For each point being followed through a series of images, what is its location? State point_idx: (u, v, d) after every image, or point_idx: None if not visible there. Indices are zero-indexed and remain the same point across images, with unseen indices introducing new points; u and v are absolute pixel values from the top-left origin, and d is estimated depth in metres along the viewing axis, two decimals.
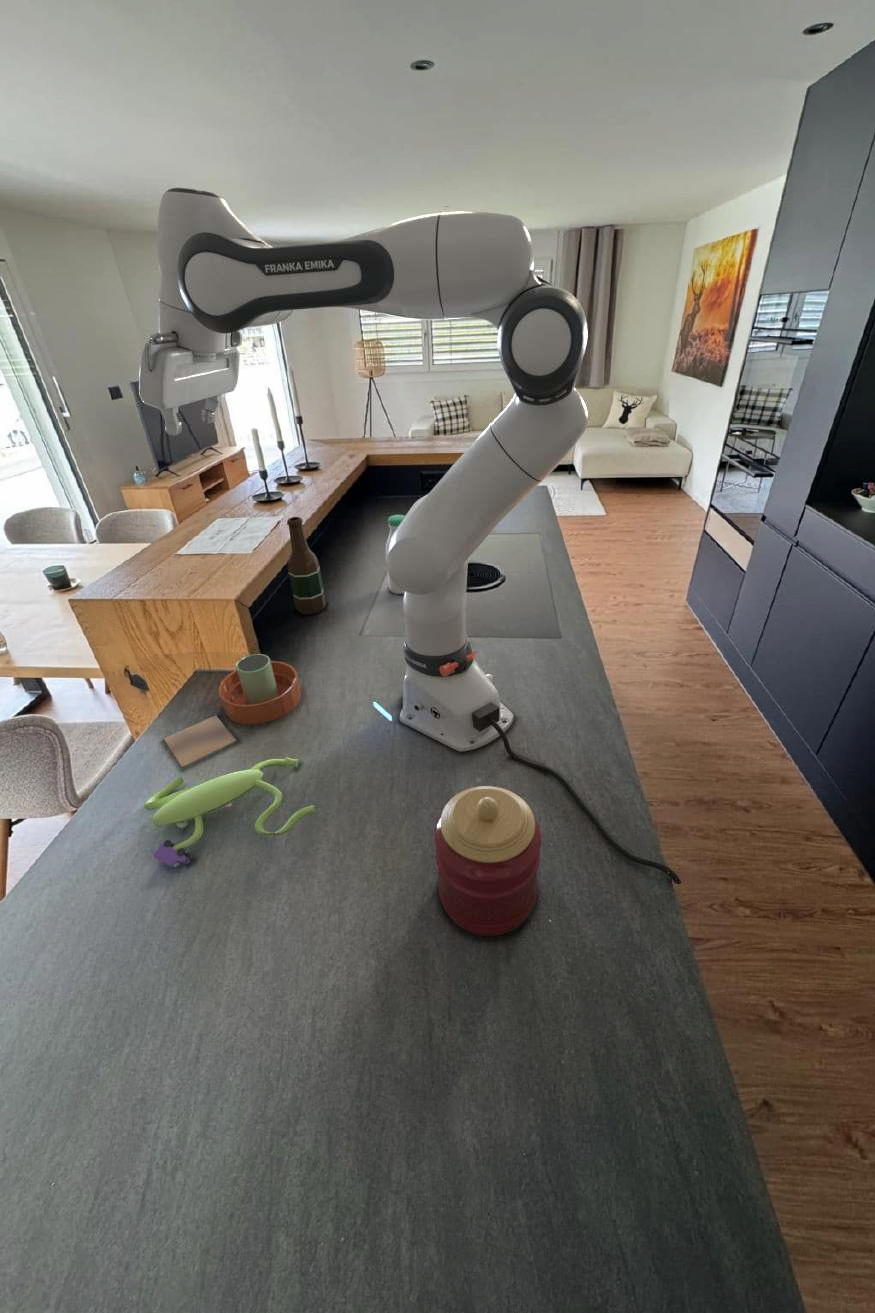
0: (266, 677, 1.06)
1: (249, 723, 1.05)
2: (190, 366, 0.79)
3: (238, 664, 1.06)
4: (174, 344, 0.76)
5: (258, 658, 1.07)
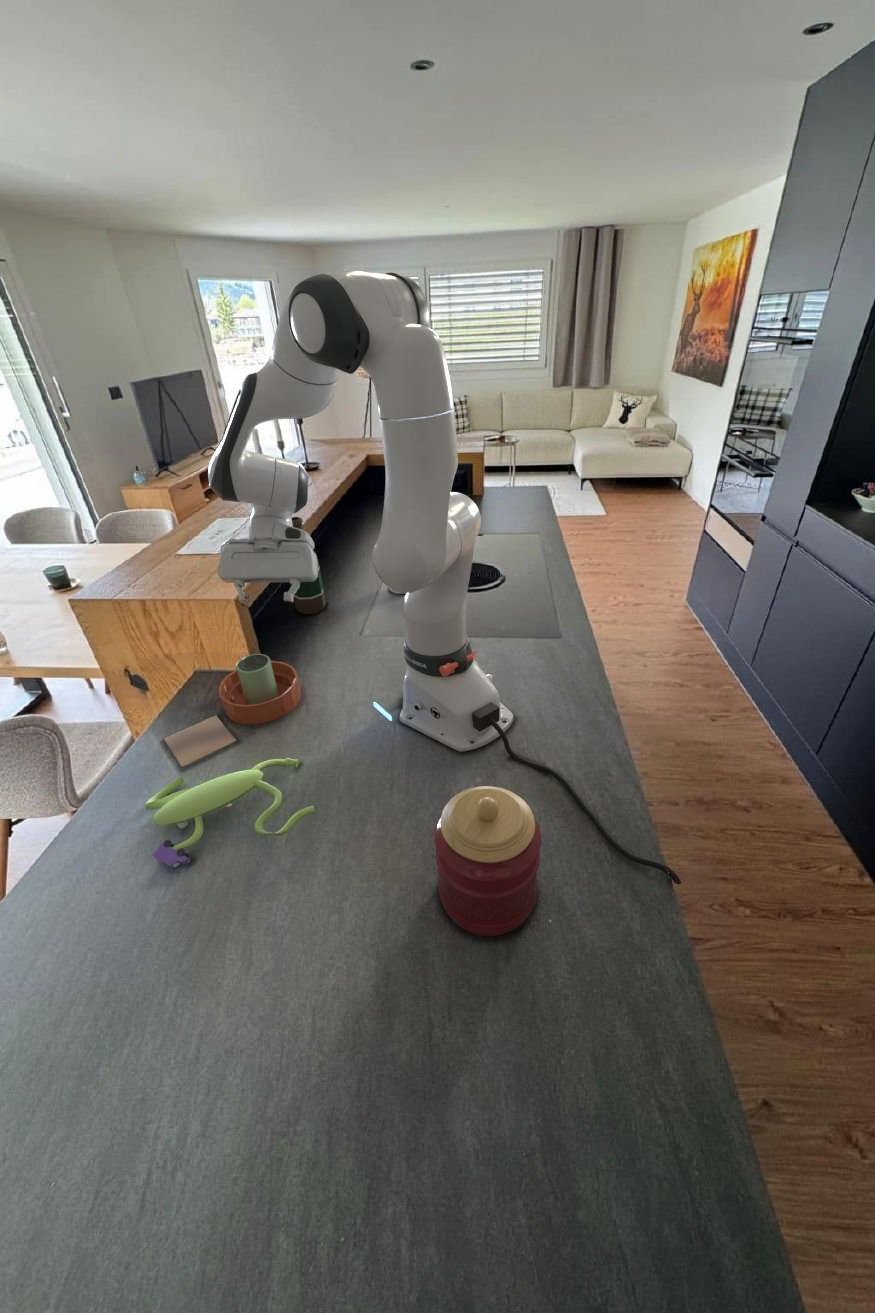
0: (266, 677, 1.06)
1: (249, 723, 1.05)
2: (252, 554, 1.14)
3: (238, 664, 1.06)
4: (246, 544, 1.15)
5: (258, 658, 1.07)
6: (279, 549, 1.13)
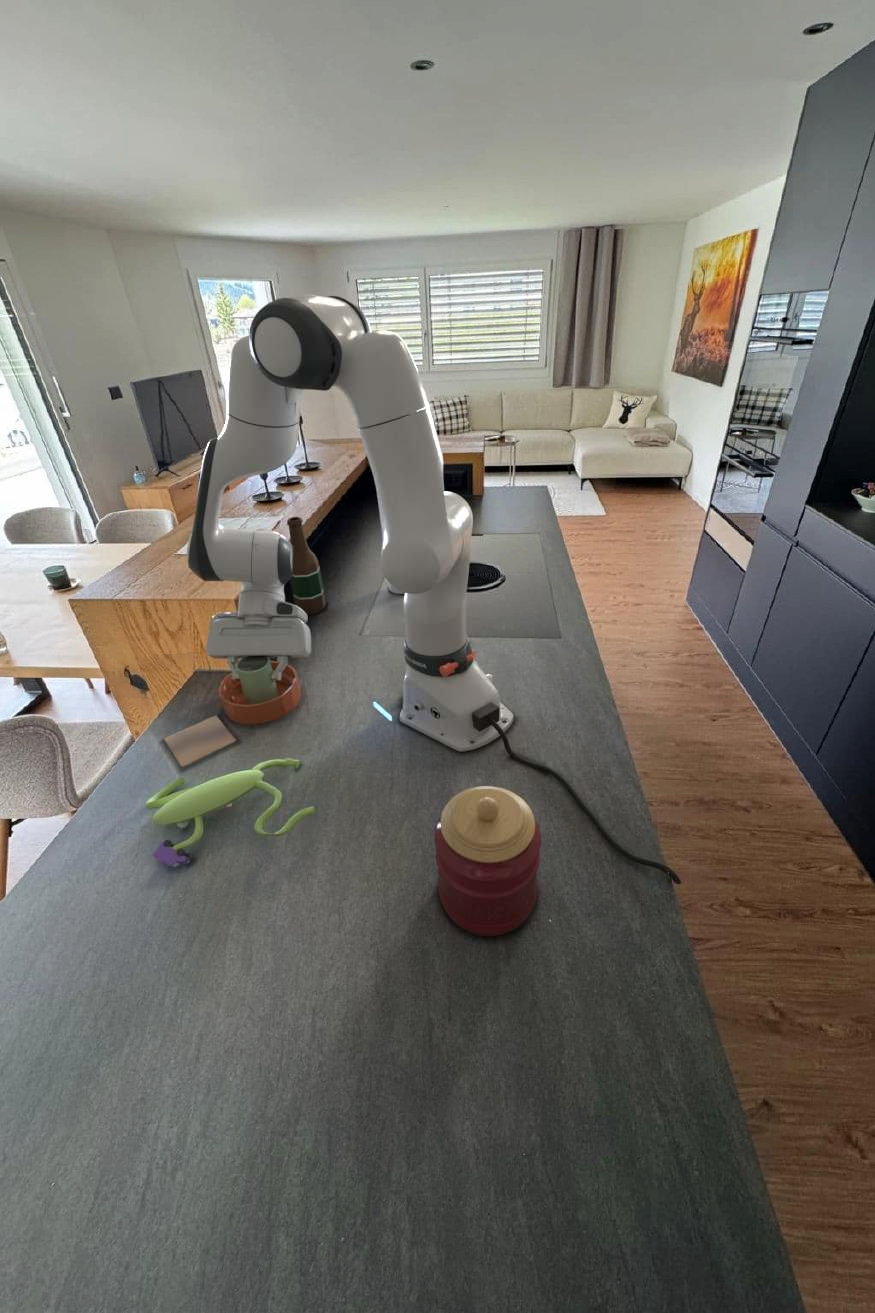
0: (266, 677, 1.06)
1: (249, 723, 1.05)
2: (242, 630, 1.08)
3: (238, 664, 1.06)
4: (235, 618, 1.10)
5: (258, 658, 1.07)
6: (270, 625, 1.08)
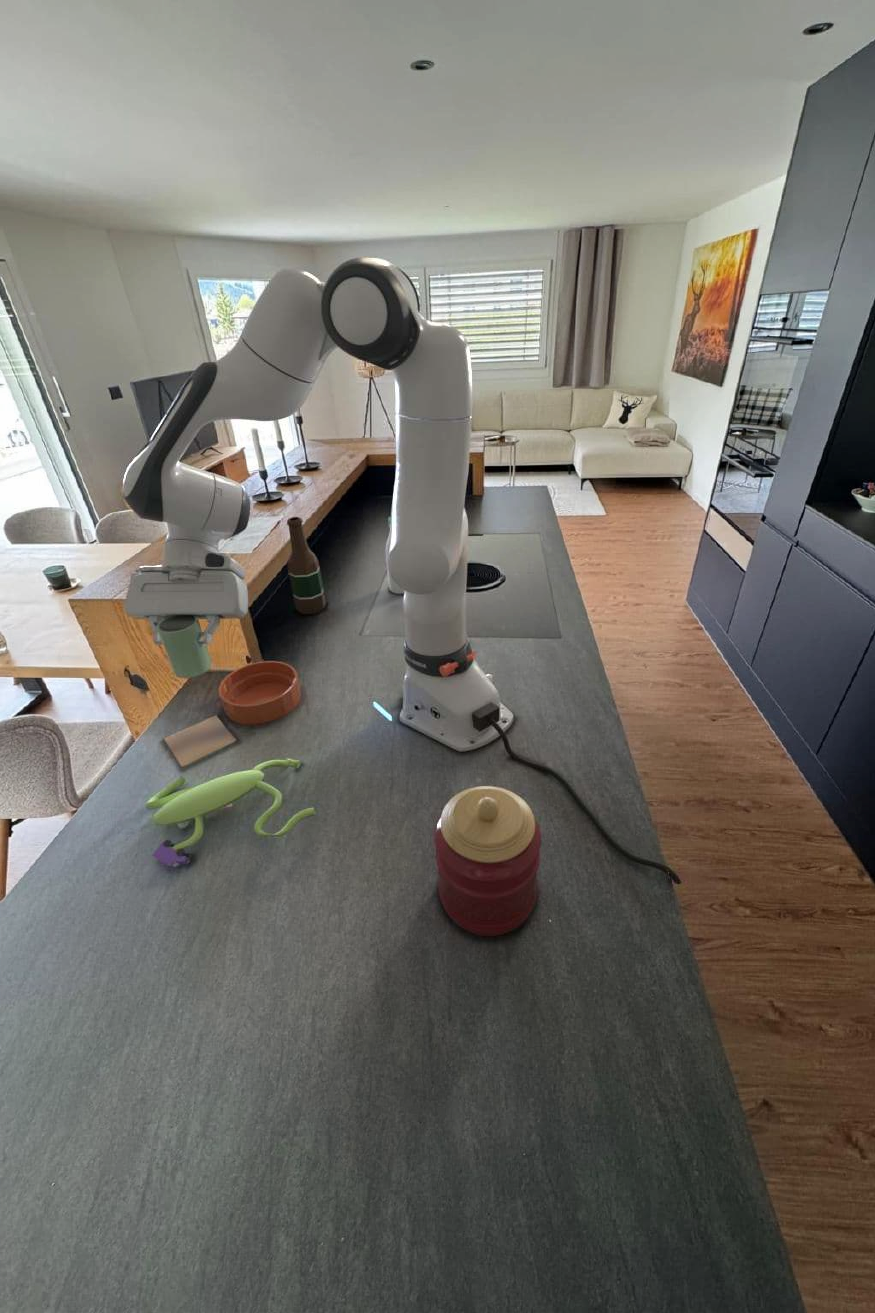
0: (192, 639, 0.91)
1: (249, 723, 1.05)
2: (166, 585, 0.94)
3: (160, 624, 0.91)
4: (160, 573, 0.95)
5: (184, 618, 0.93)
6: (199, 579, 0.93)
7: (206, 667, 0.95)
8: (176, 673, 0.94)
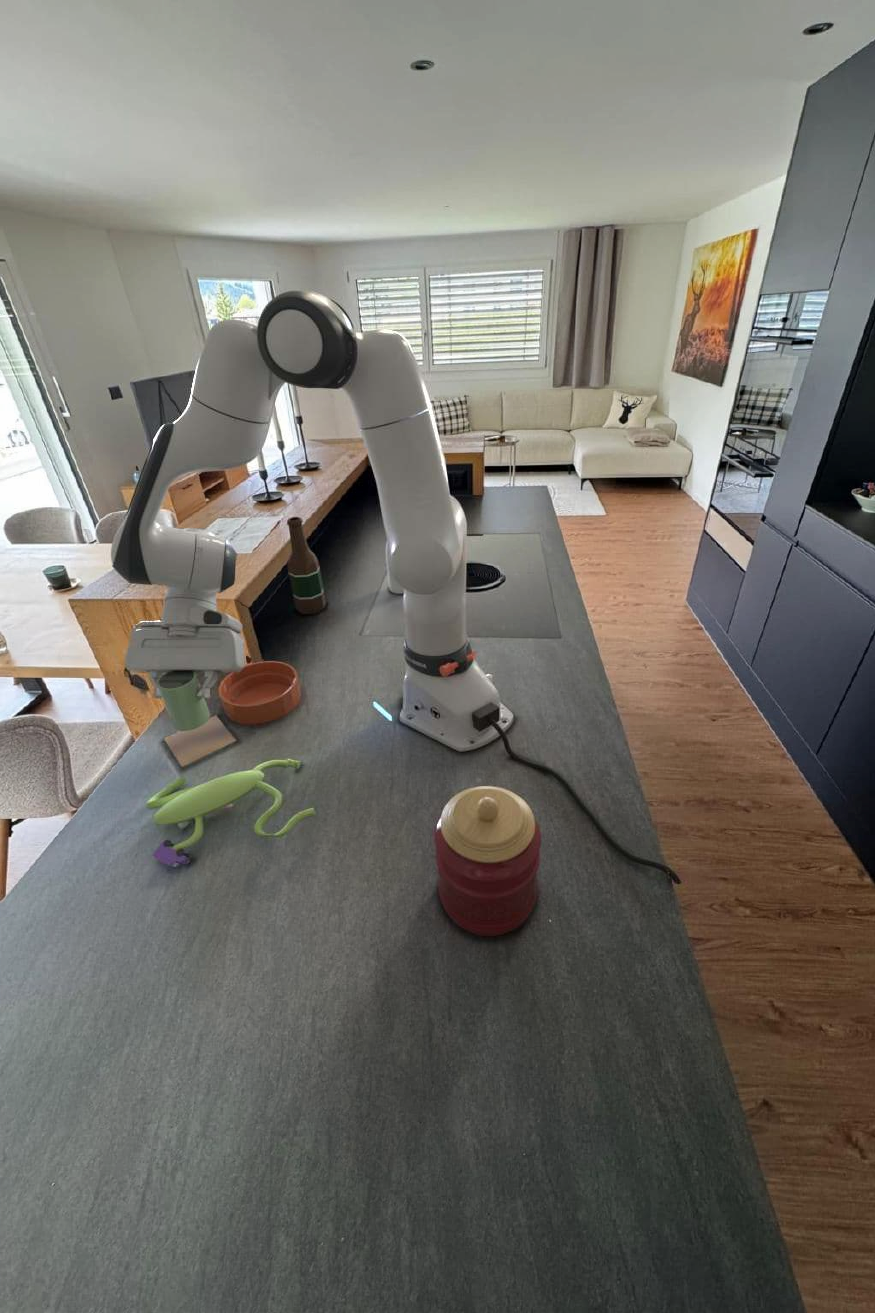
0: (190, 694, 0.94)
1: (249, 723, 1.05)
2: (166, 641, 0.97)
3: (159, 680, 0.94)
4: (160, 628, 0.98)
5: (183, 673, 0.96)
6: (197, 636, 0.96)
7: (204, 720, 0.98)
8: (175, 726, 0.97)
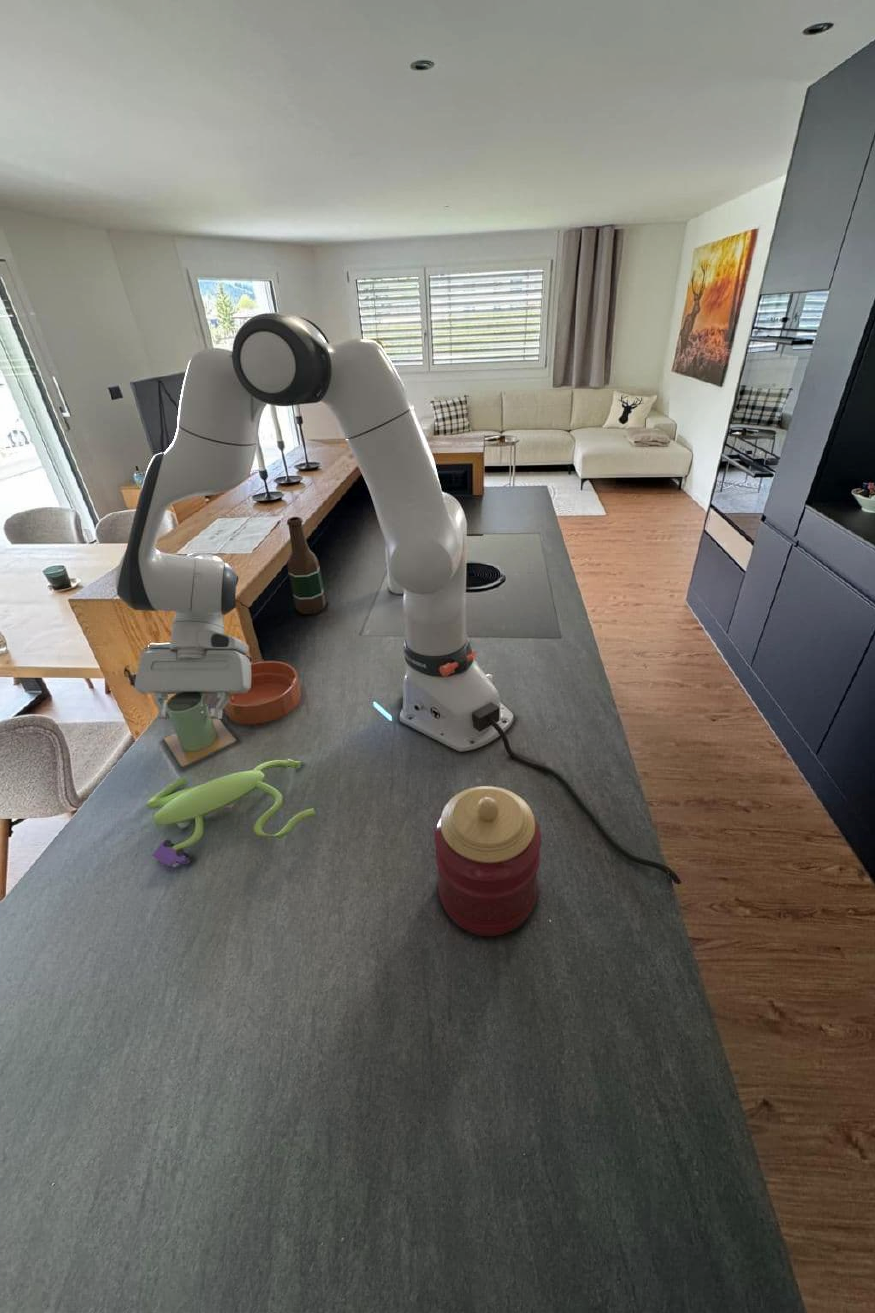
0: (198, 716, 0.97)
1: (249, 723, 1.05)
2: (174, 663, 0.99)
3: (168, 702, 0.97)
4: (169, 650, 1.01)
5: (191, 695, 0.98)
6: (205, 658, 0.99)
7: (212, 740, 1.01)
8: (183, 747, 0.99)
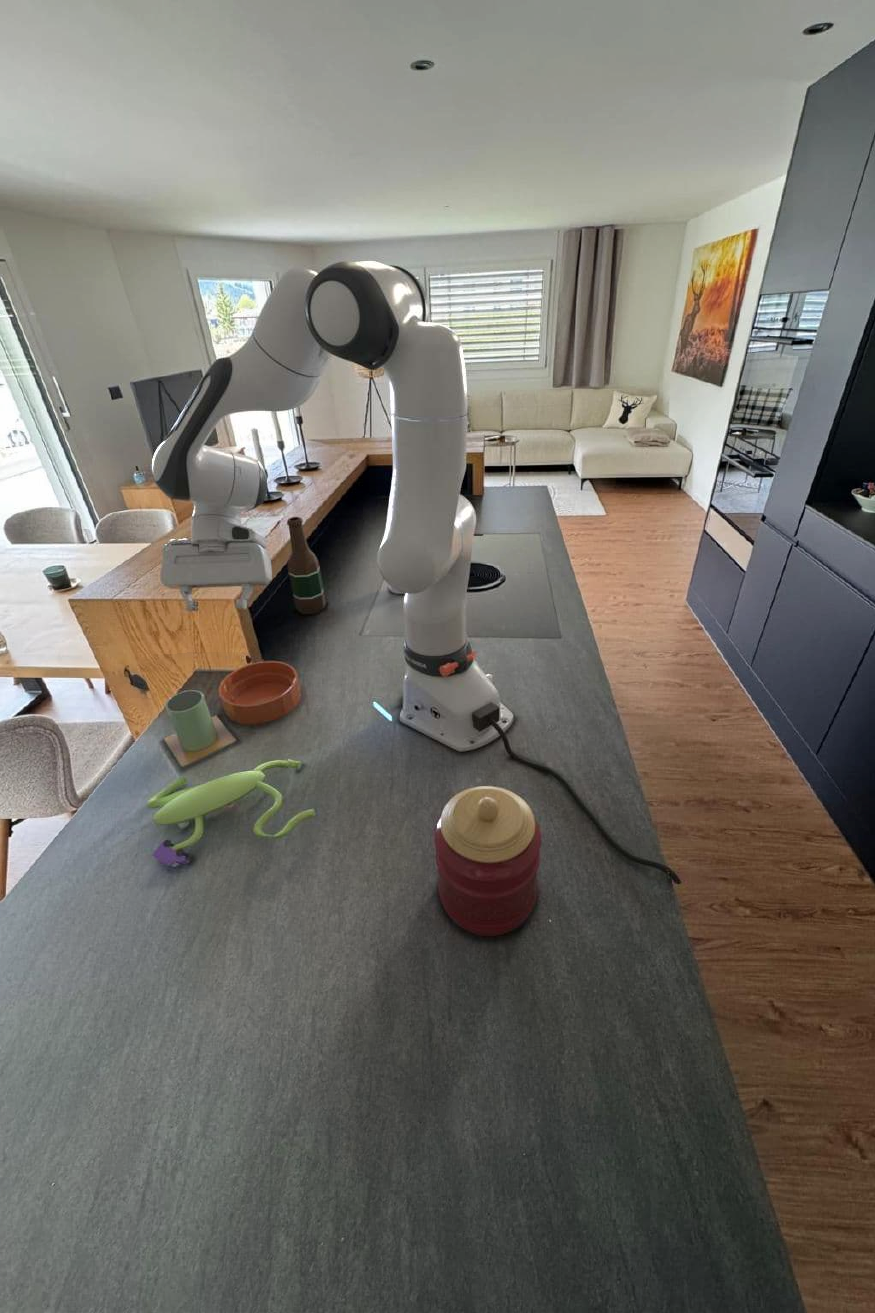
0: (198, 716, 0.97)
1: (249, 723, 1.05)
2: (197, 557, 1.03)
3: (168, 702, 0.97)
4: (190, 545, 1.05)
5: (191, 695, 0.98)
6: (227, 551, 1.03)
7: (212, 740, 1.01)
8: (183, 747, 0.99)
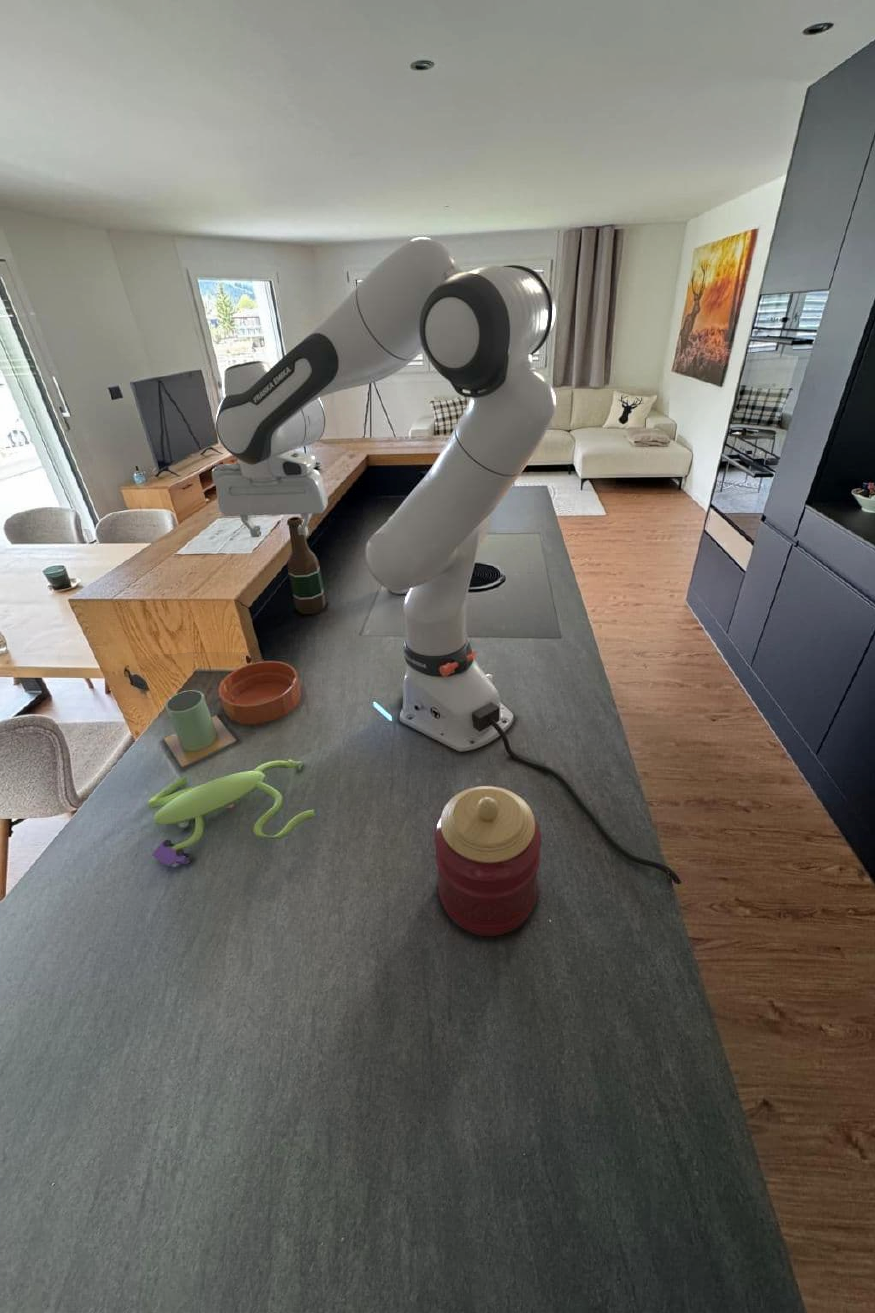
0: (198, 716, 0.97)
1: (249, 723, 1.05)
2: (251, 488, 1.02)
3: (168, 702, 0.97)
4: (239, 472, 1.01)
5: (191, 695, 0.98)
6: (280, 483, 1.00)
7: (212, 740, 1.01)
8: (183, 747, 0.99)
